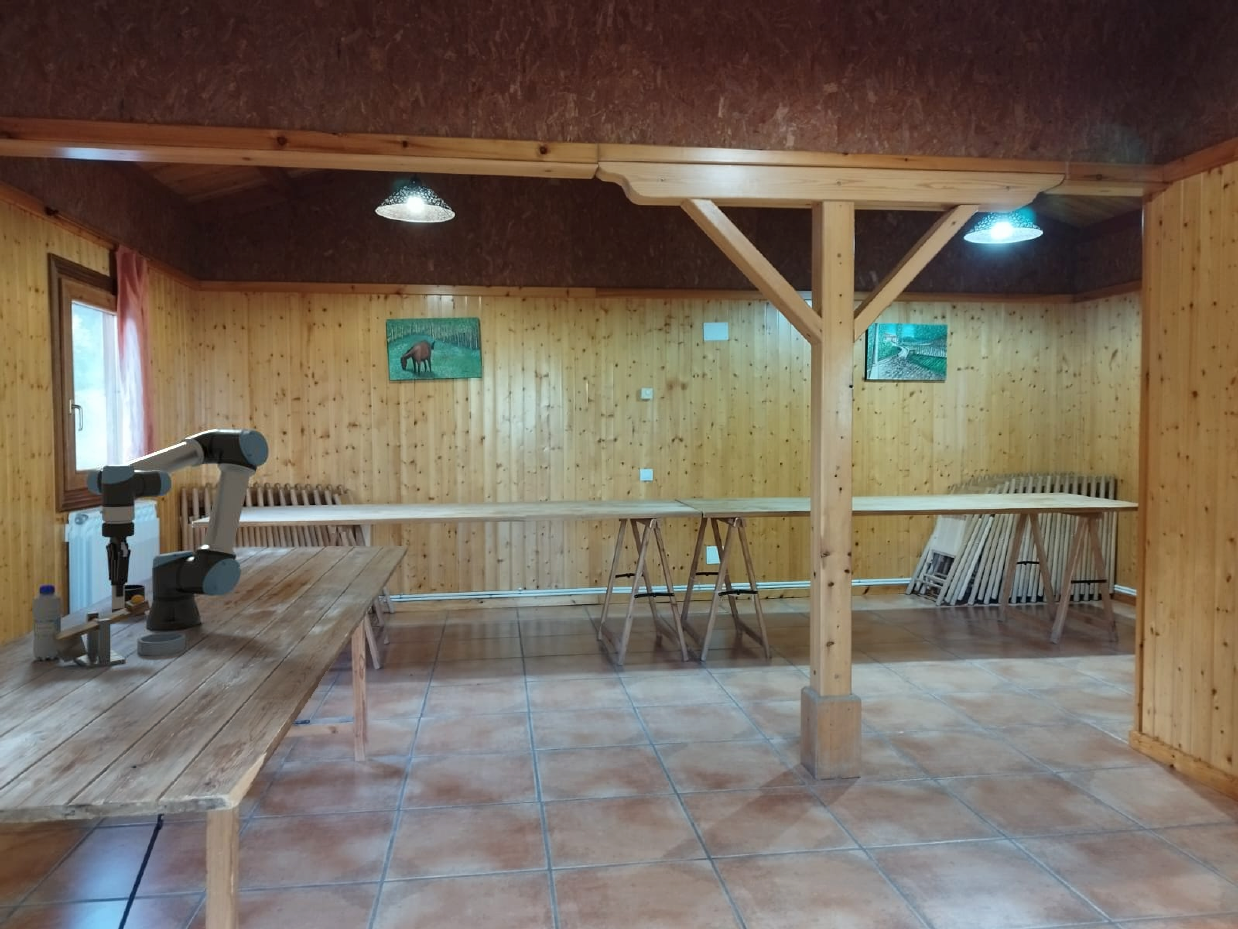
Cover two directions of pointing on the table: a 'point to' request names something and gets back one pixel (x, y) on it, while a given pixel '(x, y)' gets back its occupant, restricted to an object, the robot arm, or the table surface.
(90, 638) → the fulcrum
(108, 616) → the lever
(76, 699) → the table surface
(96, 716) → the table surface
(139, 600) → the ball
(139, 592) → the mug
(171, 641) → the bowl
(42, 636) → the bottle
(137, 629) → the table surface
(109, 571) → the robot arm
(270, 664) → the table surface
